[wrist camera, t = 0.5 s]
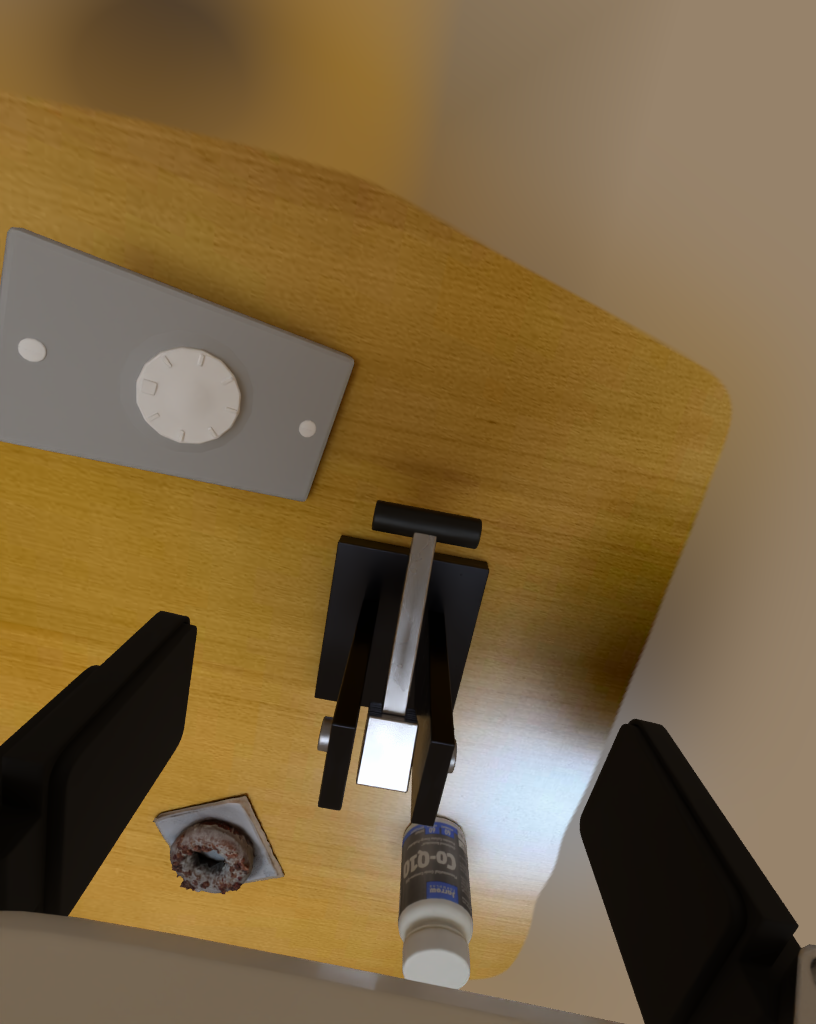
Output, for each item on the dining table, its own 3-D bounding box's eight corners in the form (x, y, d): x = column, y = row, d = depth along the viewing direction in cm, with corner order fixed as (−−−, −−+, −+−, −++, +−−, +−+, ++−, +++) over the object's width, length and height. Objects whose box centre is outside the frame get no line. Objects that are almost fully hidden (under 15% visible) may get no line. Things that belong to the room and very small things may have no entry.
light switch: (310, 510, 27) (-28, 446, 20) (287, 471, 32) (7, 407, 24) (363, 362, 25) (0, 222, 17) (330, 344, 30) (33, 227, 22)
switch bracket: (341, 534, 29) (290, 642, 18) (487, 561, 30) (525, 685, 18) (318, 686, 33) (262, 856, 21) (449, 709, 33) (462, 890, 22)
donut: (150, 813, 36) (135, 838, 35) (247, 794, 36) (236, 820, 34) (193, 891, 39) (181, 919, 37) (284, 875, 38) (277, 903, 36)
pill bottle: (455, 808, 36) (464, 938, 28) (473, 854, 37) (487, 992, 29) (393, 822, 36) (385, 954, 28) (413, 867, 37) (410, 1006, 29)
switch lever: (377, 503, 24) (377, 495, 22) (476, 522, 24) (486, 516, 22) (328, 757, 23) (322, 779, 20) (434, 775, 23) (440, 799, 20)
